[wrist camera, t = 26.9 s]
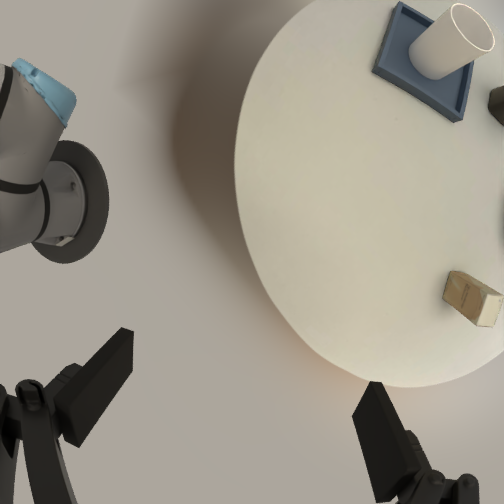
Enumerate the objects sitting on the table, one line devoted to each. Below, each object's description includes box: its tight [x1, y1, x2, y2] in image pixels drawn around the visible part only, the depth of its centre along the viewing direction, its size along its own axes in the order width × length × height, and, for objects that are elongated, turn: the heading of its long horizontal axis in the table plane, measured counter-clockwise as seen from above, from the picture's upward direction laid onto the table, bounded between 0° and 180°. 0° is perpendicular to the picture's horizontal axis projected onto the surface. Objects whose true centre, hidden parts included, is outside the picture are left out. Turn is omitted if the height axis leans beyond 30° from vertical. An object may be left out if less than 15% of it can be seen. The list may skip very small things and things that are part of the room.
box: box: [443, 271, 504, 328], centre depth 36 cm, size 5×4×11 cm
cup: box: [408, 4, 495, 80], centre depth 27 cm, size 7×7×14 cm
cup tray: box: [372, 1, 474, 123], centre depth 33 cm, size 16×16×3 cm
